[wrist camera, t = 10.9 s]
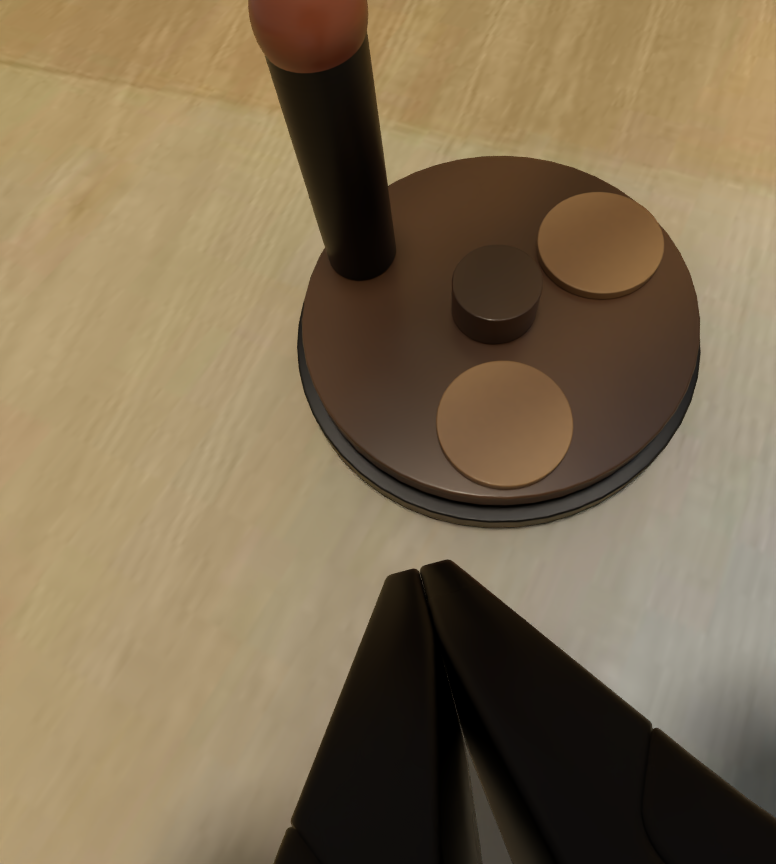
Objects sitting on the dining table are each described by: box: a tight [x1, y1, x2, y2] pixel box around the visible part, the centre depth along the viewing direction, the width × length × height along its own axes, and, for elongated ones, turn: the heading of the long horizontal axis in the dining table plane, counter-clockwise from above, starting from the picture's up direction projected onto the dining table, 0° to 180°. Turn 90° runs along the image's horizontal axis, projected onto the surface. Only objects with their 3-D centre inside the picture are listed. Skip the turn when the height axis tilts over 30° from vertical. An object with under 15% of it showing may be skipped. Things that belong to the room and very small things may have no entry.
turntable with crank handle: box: [248, 0, 700, 505], centre depth 16 cm, size 14×14×11 cm
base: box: [297, 300, 701, 528], centre depth 22 cm, size 15×15×1 cm
